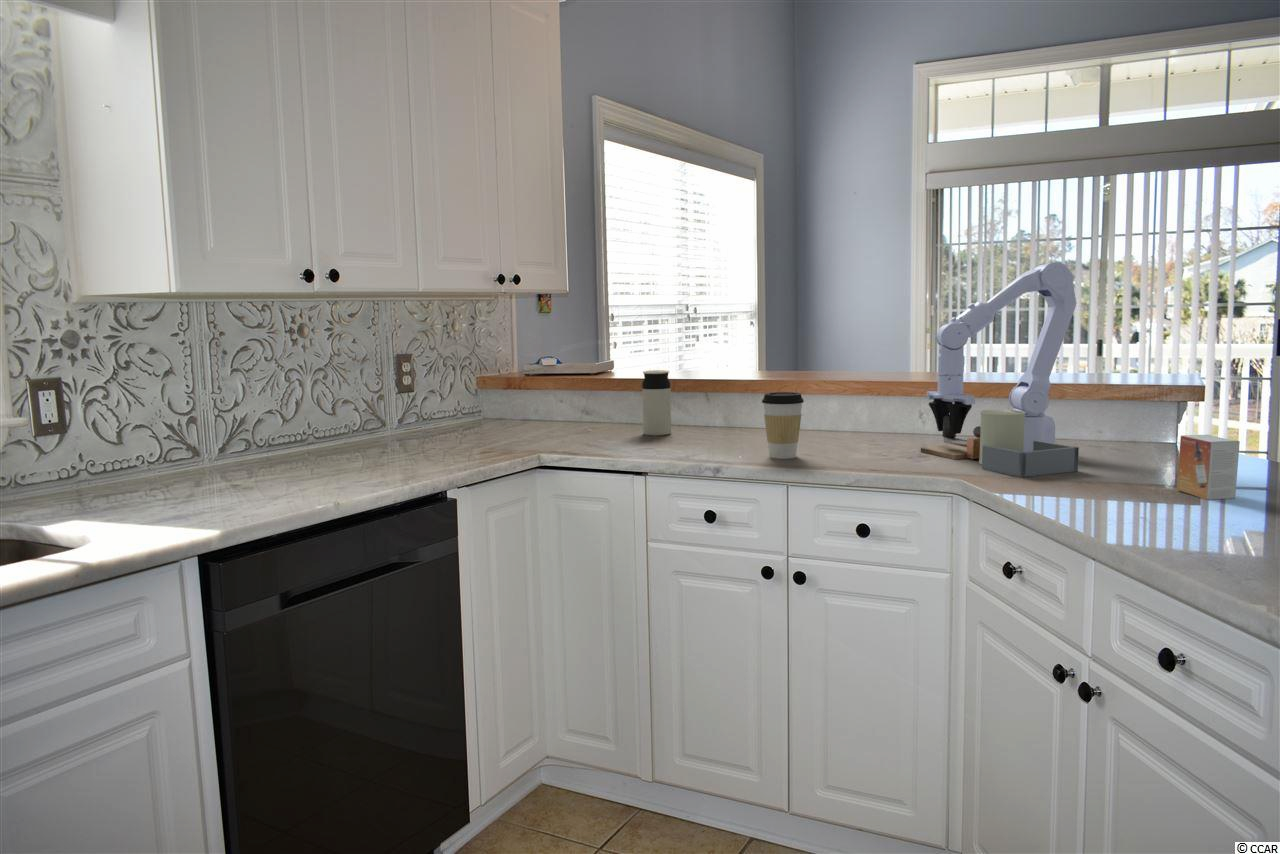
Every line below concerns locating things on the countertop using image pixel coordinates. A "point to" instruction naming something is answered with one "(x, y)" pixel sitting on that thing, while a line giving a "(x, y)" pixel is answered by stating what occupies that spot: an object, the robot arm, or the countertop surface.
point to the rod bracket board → (947, 451)
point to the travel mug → (656, 403)
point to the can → (1002, 429)
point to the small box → (1208, 466)
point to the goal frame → (1031, 459)
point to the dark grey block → (970, 443)
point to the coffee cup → (782, 423)
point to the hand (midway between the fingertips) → (949, 432)
